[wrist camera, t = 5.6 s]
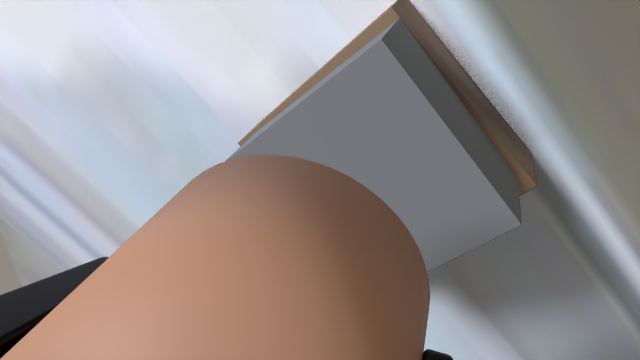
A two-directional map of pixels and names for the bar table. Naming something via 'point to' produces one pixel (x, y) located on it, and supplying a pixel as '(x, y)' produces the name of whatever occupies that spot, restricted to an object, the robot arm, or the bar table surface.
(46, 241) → the bar table surface
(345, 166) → the slate block
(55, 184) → the bar table surface
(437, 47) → the walnut block
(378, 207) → the peach rounded block
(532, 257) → the bar table surface
